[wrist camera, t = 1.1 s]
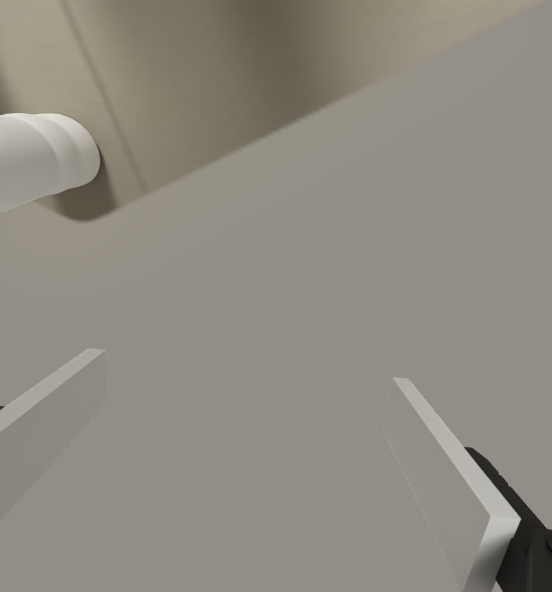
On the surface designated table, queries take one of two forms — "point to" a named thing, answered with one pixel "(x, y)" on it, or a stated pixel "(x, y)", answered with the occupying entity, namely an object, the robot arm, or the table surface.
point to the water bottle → (43, 157)
